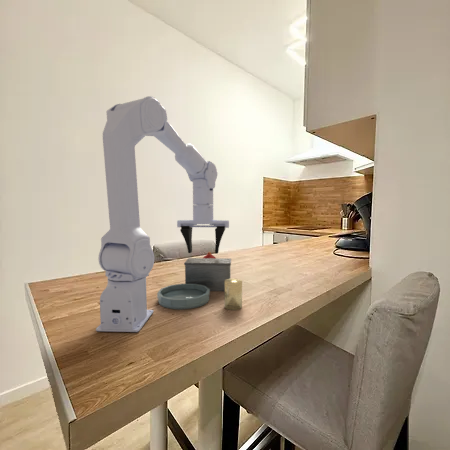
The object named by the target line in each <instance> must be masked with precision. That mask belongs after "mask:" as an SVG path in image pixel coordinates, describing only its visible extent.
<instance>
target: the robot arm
mask: <svg viewBox="0 0 450 450" xmlns="http://www.w3.org/2000/svg"><path fill="white" fill-rule="evenodd" d="M167 113H168V112H167V110H166V108H165V107H164V106H162V104H161V102H160V101H159V100H158V99H157V98H156V97H154V96H152V95H150V96H144V97H142V98H140V99H139V98H138V99H135V100H132V101H129V102H124V103H116V104H114V105H113V106H112V107H110V108H109V109H107V110H106V122H105V126H104V129H103V131H102V147H103V148H102V149H103V157H104V169H105V170H104V172H105V181H106V195H107V207H108V219H109V230H108V231H107V232H105V233H104V235H103V236H102V237H101V239H100V241H101V246H100V251H99V253H98V259H97V260H98V265H99V266H100V268H101V269H102V270H103V271H105V277H106V278H107V284H106V287H105V288H104V290H103V291H102V292H101V294H100V296H99V314H100V315H99V317H100V324H99V325H98V326H97V327H96V329H95V331H96V332H112V333H113V332H118V333H119V332H121V333H122V332H123V333H124V332H125V333H126V332H127V333H129V332H130V333H139V331H141V329H142V328H143V327H144V325H145V324H146V323H147V322H148V320H149V318H150V317H151V316H152V314H153V313H154V309H148V307H147V306H148V304H147V300H148V299H147V277H149V275H150V272H151V271H152V269H153V267H154V264H155V253H154V251H153V248H152V245H151V239H150V238H151V237H150V236H149V235H148V233H147V232H145V231H144V230H143V229H142V227H141V224H140V223H141V222H140V219H141V218H140V209H139V207H140V206H139V205H140V204H139V191H138V179H137V177H138V175H137V163H136V150H135V149H136V148H135V147H136V145H137V144H139V143H140V142H141V141H142V140H143V139H144V138H145V137H154V138H155V139H156V140H158V141H159V142H161V143H162V144H163V145H164V146H165V147H166V148H167V149H169V150H170V151H171V152H172V153H173V154H174V159H175V161H176V163H178V164H179V165H180V166H181V167H182V168H183V169H184V170H185V172H186V174H187V176H188V179H189V181H190V182H192V219H184V220H183V219H179V220H177V221H176V226H177V227H176V228H180V233H181V235H182V237H183V240H184V241H185V245H186V248H187V253H188V254H192V253H193V243H192V242H193V239H192V238H193V228H214V232H215V234H214V236H215V244H214V245H215V247H214V254H219V249H220V245H221V241H222V239H223V238H222V237H223V236H224V233H225V231H226V229H229V227H230V220H226V219H225V220H222V219H218V220H217V219H214V189H215V187H216V181H217V177H218V172H217V171H218V169H217V166H216V164H215V163H214V162H212V161H210V160H206V159H205V157H203V155H202V154H201V153H200V152H199V151H198V150H197V148H196V147H195V146H194V144H191V143H185V142H184V140H183V139H182V138H181V137H180V135H179V134H178V132H177V131H176V130H175V129H174V127H173V126H172V125H171V124H170V122H169V121H168V114H167Z"/></svg>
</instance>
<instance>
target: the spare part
mask: <svg viewBox="0 0 450 450" xmlns="http://www.w3.org/2000/svg"><path fill="white" fill-rule="evenodd" d="M223 292H224V308H225V309H226V310H229V311H239V310H241V309H242V308H243V280H242V279H240V278H231V279H226V280H225V281H224V291H223Z"/></svg>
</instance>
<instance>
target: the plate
mask: <svg viewBox="0 0 450 450" xmlns="http://www.w3.org/2000/svg"><path fill="white" fill-rule="evenodd" d="M156 295H157V300H158V304H159V305H160V306H161V307H163V308H166V309H171V310H191V309H196V308H200V307H202V306H204V305H205V306H206V305H207V304H208V303H209V301H210V295H211V291H210V289H209V288H207V287H206V286H204V285H198V284H185V283H178V284H170V285H168V286H164V287H161V288H160V289H159V290H158V291H157V293H156Z"/></svg>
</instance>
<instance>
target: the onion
mask: <svg viewBox="0 0 450 450" xmlns="http://www.w3.org/2000/svg"><path fill="white" fill-rule="evenodd" d="M202 258H216V256H215V255H213V254H212V252H211V251H208V252H207V254H206V255H204V256H203V257H202Z"/></svg>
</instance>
